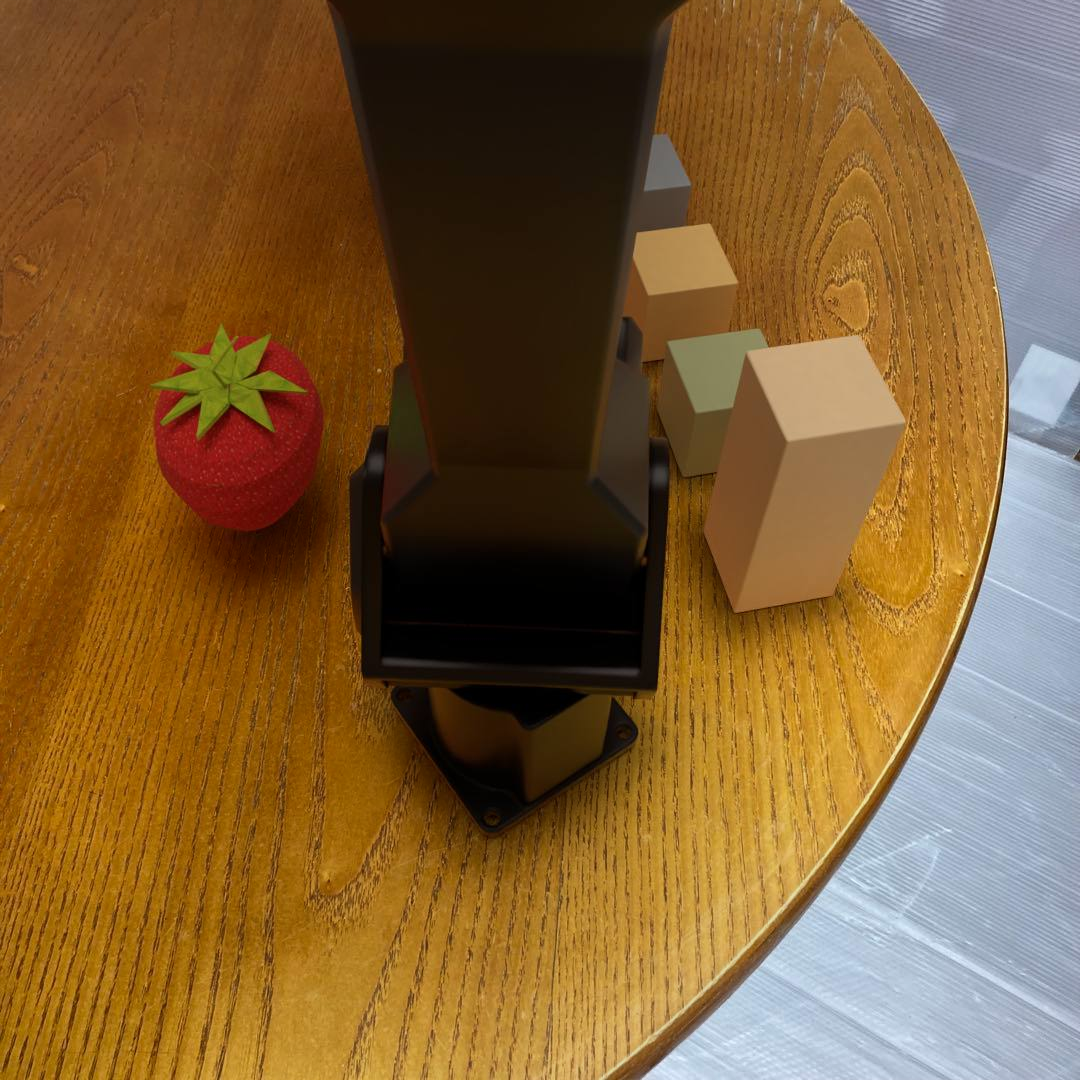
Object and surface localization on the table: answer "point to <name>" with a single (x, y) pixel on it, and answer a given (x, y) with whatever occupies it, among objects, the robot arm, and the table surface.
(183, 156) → the table surface
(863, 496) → the block
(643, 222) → the block
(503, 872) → the table surface
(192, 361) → the strawberry
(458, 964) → the table surface
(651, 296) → the block
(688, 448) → the block
